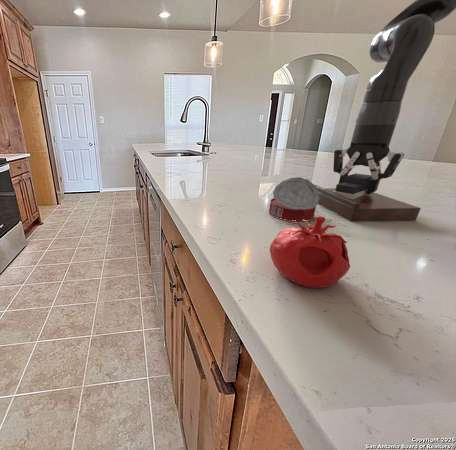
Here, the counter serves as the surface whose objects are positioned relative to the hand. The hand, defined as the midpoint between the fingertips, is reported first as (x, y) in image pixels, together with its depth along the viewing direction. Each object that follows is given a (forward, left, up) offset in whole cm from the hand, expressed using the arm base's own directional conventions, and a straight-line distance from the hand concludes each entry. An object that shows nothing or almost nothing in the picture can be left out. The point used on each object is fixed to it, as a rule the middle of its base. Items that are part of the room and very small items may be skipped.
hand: (355, 190), depth 65 cm
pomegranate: (+30, +34, -4) cm, 46 cm away
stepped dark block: (+1, +1, 0) cm, 2 cm away
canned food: (+20, +8, -4) cm, 22 cm away
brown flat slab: (+2, +4, -3) cm, 6 cm away
